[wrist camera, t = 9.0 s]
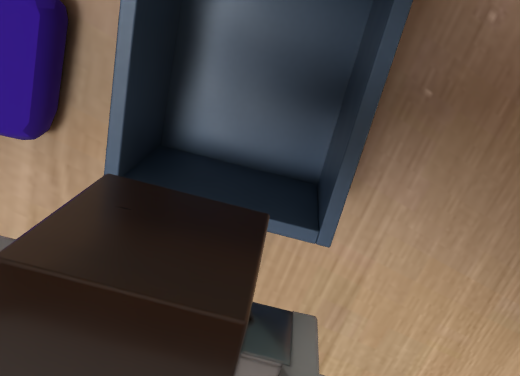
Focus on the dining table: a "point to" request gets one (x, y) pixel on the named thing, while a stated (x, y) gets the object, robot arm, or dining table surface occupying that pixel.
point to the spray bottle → (30, 65)
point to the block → (130, 285)
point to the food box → (252, 101)
